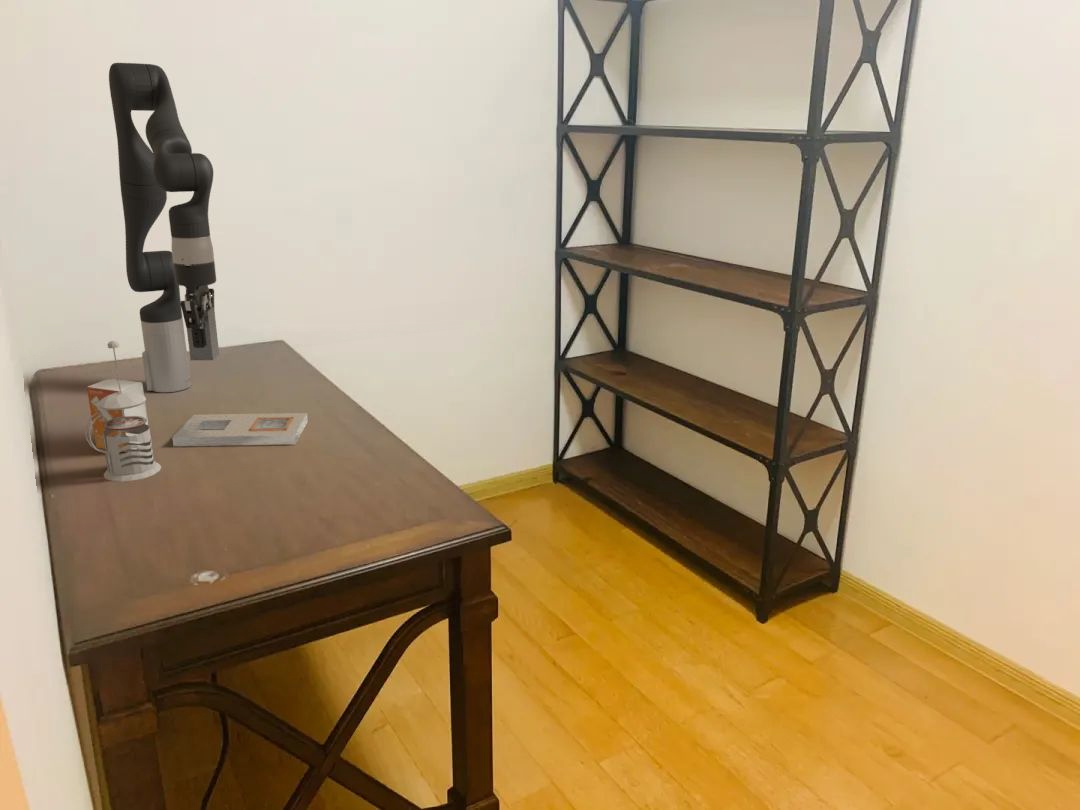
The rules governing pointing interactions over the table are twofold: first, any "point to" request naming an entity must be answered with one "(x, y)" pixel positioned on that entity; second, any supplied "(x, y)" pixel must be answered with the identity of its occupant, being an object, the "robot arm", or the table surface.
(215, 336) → the block with round knob
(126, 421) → the french press
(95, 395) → the small box
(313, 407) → the table surface
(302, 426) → the rail plate
